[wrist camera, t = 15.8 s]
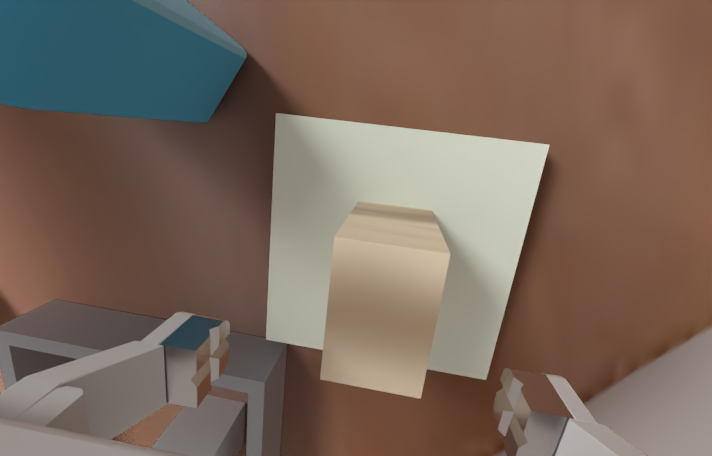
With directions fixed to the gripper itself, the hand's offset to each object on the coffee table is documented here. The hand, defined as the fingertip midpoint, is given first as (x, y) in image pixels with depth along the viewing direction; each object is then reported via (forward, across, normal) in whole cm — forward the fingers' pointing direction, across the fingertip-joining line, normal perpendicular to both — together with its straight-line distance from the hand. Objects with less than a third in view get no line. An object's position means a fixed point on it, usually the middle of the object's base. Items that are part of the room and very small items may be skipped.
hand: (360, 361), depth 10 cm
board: (+11, -1, 0) cm, 11 cm away
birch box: (+10, -1, 0) cm, 10 cm away
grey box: (+11, +10, +16) cm, 22 cm away
